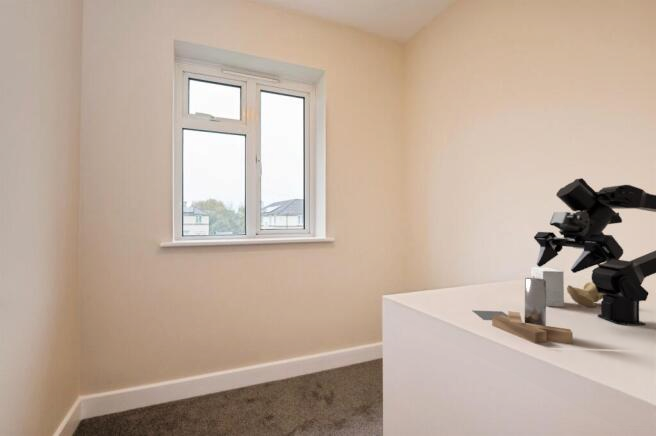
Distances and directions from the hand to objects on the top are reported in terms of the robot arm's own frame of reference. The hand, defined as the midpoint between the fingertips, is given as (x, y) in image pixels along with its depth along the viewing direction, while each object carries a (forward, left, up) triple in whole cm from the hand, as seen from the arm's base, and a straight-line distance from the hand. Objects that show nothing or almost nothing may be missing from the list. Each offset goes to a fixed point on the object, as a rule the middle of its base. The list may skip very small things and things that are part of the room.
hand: (554, 268), depth 76 cm
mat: (+13, -4, -14) cm, 19 cm away
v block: (+11, +7, -14) cm, 19 cm away
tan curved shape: (-23, -19, -14) cm, 33 cm away
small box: (-10, -19, -14) cm, 26 cm away
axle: (+9, +7, -14) cm, 17 cm away
